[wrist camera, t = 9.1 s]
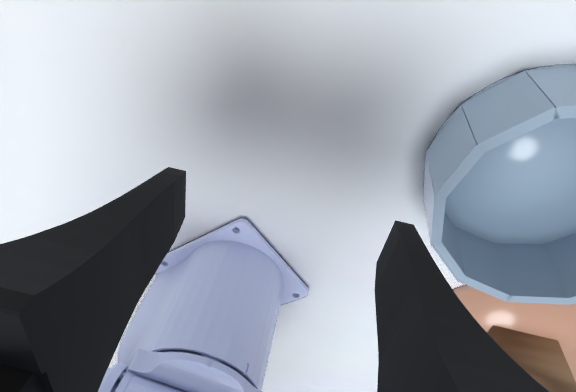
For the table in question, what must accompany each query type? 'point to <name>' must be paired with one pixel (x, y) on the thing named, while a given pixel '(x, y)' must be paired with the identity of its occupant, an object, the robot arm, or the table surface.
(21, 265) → the robot arm
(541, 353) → the walnut block
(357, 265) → the table surface
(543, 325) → the peach round plate
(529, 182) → the bowl
